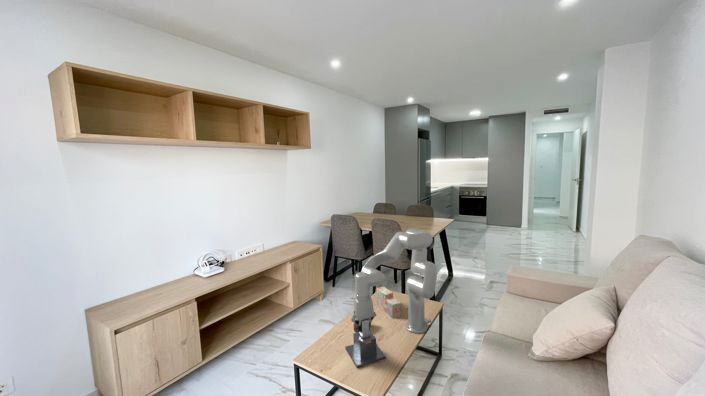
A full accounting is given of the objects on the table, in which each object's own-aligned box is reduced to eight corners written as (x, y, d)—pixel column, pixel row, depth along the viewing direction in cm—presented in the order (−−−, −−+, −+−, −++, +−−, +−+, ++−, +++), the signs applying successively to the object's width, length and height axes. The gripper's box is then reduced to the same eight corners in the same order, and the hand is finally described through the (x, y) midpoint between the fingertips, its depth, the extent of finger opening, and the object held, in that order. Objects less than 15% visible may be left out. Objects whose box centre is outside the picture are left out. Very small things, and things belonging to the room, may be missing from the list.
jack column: (366, 344, 152) (365, 316, 150) (370, 349, 148) (369, 319, 146) (359, 346, 150) (358, 317, 148) (362, 351, 146) (361, 321, 144)
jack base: (372, 341, 160) (371, 324, 158) (385, 358, 145) (385, 340, 144) (345, 349, 154) (344, 331, 153) (356, 368, 139) (356, 348, 138)
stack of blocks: (400, 316, 185) (400, 298, 184) (392, 318, 183) (391, 300, 182) (384, 302, 205) (384, 286, 204) (376, 304, 203) (376, 287, 201)
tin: (357, 336, 165) (356, 322, 164) (352, 334, 167) (352, 321, 166) (372, 325, 176) (372, 312, 175) (368, 323, 178) (367, 310, 177)
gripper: (374, 290, 152) (375, 323, 154) (345, 297, 146) (346, 330, 148) (381, 296, 145) (382, 330, 147) (350, 303, 139) (352, 338, 141)
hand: (364, 330), depth 148 cm, fingers closed on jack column, 4 cm apart
